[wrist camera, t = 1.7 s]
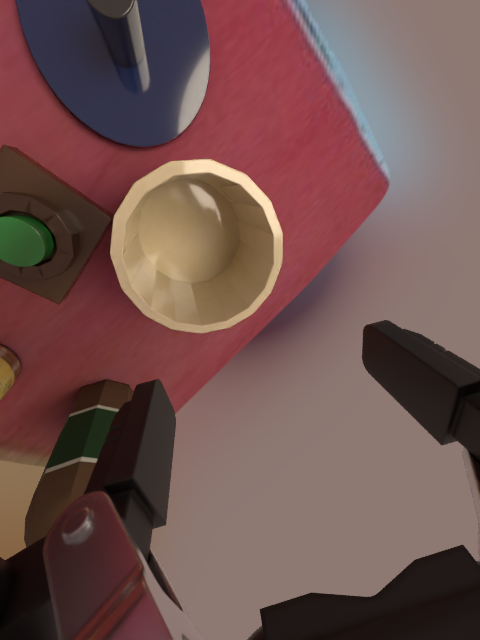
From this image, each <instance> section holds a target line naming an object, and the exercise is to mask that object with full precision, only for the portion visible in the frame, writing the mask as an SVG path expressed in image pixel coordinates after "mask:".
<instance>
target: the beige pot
mask: <svg viewBox="0 0 480 640" xmlns="http://www.w3.org/2000/svg"><path fill="white" fill-rule="evenodd" d="M282 235H283V233H282V230H281V227H280V224H279V222H278V219H277V216H276V214H275V211H274V208H273V206H272V203H271V201H270V199H269V198H268V197H267V196H266V195H265V194H264V193H263V192H262V191H261V190H260V189H259V188H258V186H257V185H256V184H255V183H254V182H253V181H252V180H251V179H250V178H249V177H248V176H247V175H246V174H245V173H243V172H240V171H238V170H236V169H233V168H231V167H228V166H226V165H223V164H221V163H219V162H216V161H214V160H211V159H197V160H182V161H170V162H167V163H166V164H164V165H162V166H161V167H159V168H157V169H156V170H154V171H152V172H151V173H149V174H147V175H146V176H144V177H142V178H141V179H139V180H137V181H136V182H135V183H134V184H133V185H132V187H131V189H130V190H129V192H128V194H127V195H126V197H125V198H124V200H123V202H122V203H121V205H120V207H119V208H118V210H117V212H116V213H115V215H114V217H113V226H112V237H111V247H110V257H111V260H112V263H113V266H114V269H115V271H116V274H117V277H118V280H119V283H120V286H121V289H122V290H123V291H124V293H125V294H126V295H127V296H128V297H129V298H130V299H131V301H132V302H133V303H134V304H135V305H136V306H137V307H138V309H139V310H140V311H141V312H142V313H143V314H144V315H145V316H147V317H149V318H151V319H153V320H155V321H157V322H158V323H160V324H162V325H164V326H166V327H168V328H170V329H172V330H179V331H187V332H194V333H205V332H210V331H215V330H220V329H225V328H229V327H231V326H233V325H235V324H236V323H238V322H240V321H241V320H243V319H245V318H246V317H248V316H250V315H252V314H253V313H254V312H255V311H256V310H257V308H258V307H259V306H260V305H261V304H262V303H263V301H264V300H265V299H266V298H267V297H268V295H269V294H270V293H271V291H272V289H273V286H274V284H275V281H276V279H277V276H278V273H279V271H280V268H281V265H282Z"/></svg>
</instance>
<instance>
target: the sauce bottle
mask: <svg viewBox="0 0 480 640" xmlns="http://www.w3.org/2000/svg"><path fill="white" fill-rule="evenodd" d="M20 371H21V364H20V362H19V359H18V358H17V357H16V355H15V354H14V353H12V352H11V351H10V350H9V349H8V348H6V347H3V346H2V345H0V400H1V399H2V397H3V396H4V395H5V394H6V393H7V392H8V390H9V389H10V388H11V387H12V385H13V384H14V380H15V379H16V378H17V376H18V375H19V374H20Z"/></svg>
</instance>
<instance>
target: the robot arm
mask: <svg viewBox="0 0 480 640" xmlns="http://www.w3.org/2000/svg"><path fill="white" fill-rule="evenodd" d="M362 360H363V364H364V366H365V368H366V370H367V371H368V373H369V374H370V375H371V376H372V377H373V378H374V379H375V380H376V381H377V382H378V383H379V384H380V385H381V386H382V387H383V388H384V389H385V390H386V391H387V392H388V393H389V394H391V396H393V397H394V398H395V400H396V401H397V402H399V403H400V405H402V406H403V407H404V409H405V410H407V411H408V412H409V413H410V414H411V415H412V416H413V417H414V418H415V419H416V420H417V421H418V422H419V423H420V424H421V425H422V426H423V427H424V428H425V429H426V430H427V431H428V432H429V433H430V434H431V435H432V436H433V437H434V438H435V439H436V440H437V441H438V442H439V443H440V444H441V445H445V444H448V443H452V442H455V441H458V442H459V443H461V444H462V445H463V446H464V448H463V451H462V455H463V459H464V463H465V468H466V472H467V476H468V480H469V484H470V488H471V492H472V497H473V501H474V505H475V509H476V513H477V517H478V523H479V534H478V553H479V561H480V369H479V368H477V367H476V366H474V365H472V364H470V363H469V362H467V361H465V360H464V359H462V358H460V357H458V356H457V355H455V354H453V353H452V352H450V351H446V350H445V348H443V347H441V346H440V345H438V344H434V342H433V341H431V340H430V339H428V338H426V337H424V336H423V335H421V334H418V333H415V332H412V331H409V330H406V329H401V328H400V327H398V326H396V325H395V324H393V323H392V322H390V321H388V320H384V321H380V322H376V323H372V324H369V325H366V326H365V327H364V329H363V350H362ZM175 428H176V418H175V412H174V409H173V406H172V404H171V402H170V400H169V398H168V396H167V393H166V391H165V389H164V387H163V385H162V383H161V381H160V380H159V379H157V380H153V381H149V382H145V383H141V384H138V385H137V386H136V388H135V391H134V394H133V397H132V400H131V401H128V402H125V403H124V404H123V405H122V407H121V408H120V409H119V410H118V412H117V413H116V414H115V416H114V418H113V421H112V423H111V426H110V431H109V432H108V434H107V436H106V439H105V443H104V444H103V446H102V449H101V452H100V454H99V457H98V459H97V462H96V464H95V467H94V469H93V472H92V474H91V477H90V480H89V482H88V485H87V487H86V490H85V492H84V494H83V496H81V497H79V498H78V499H76V500H75V501H74V502H72V503H71V504H70V505H69V506H68V507H67V508H66V509H65V510H64V511H63V512H62V513H61V514H60V515H59V517H58V518H57V519H56V520H55V522H54V523H53V525H52V527H51V528H50V530H49V532H48V534H47V535H46V536H45V537H43V538H42V539H40V540H38V541H37V542H35V543H33V544H32V545H30V546H28V547H27V548H25V549H23V550H22V551H20V552H18V553H17V554H15V555H14V556H12V557H10V558H9V559H7V560H4V559H2V558H1V557H0V640H205V639H204V637H203V636H202V634H201V633H200V631H199V629H198V628H197V627H196V625H195V624H194V622H193V621H192V619H191V618H190V616H189V614H188V613H187V611H186V609H185V607H184V606H183V604H182V602H181V600H180V598H179V597H178V595H177V593H176V591H175V589H174V588H173V586H172V584H171V582H170V580H169V579H168V577H167V575H166V573H165V571H164V570H163V568H162V566H161V564H160V562H159V560H158V559H157V557H156V555H155V553H154V551H153V550H152V548H151V547H150V543H151V535H152V529H154V528H157V527H161V526H164V525H166V519H167V509H168V499H169V489H170V478H171V469H172V458H173V448H174V437H175ZM260 614H261V620H262V626H261V627H260V628H259V629H257V630H256V631H255V632H254V633H253V634H252V635H251V636H250V637H249V638H248V639H247V640H480V562H478V561H475V560H474V558H473V557H472V556H471V554H470V553H469V552H468V550H467V549H466V548H465V547H464V545H460V546H457V547H454V548H451V549H448V550H444V551H441V552H438V553H435V554H432V555H429V556H425V557H422V558H419V559H416V560H414V561H413V562H412V563H411V564H410V565H409V566H407V567H406V569H404V570H403V571H402V572H401V573H400V574H399V575H397V576H396V577H395V579H393V580H392V581H391V582H390V583H389V584H388V585H386V586H385V588H383V589H382V590H381V591H380V592H379V593H378V594H376V595H375V596H372V597H360V596H347V595H334V594H321V593H309V594H306V595H303V596H300V597H297V598H293V599H290V600H287V601H284V602H281V603H278V604H275V605H271V606H268V607H265V608H262V609H260Z"/></svg>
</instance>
